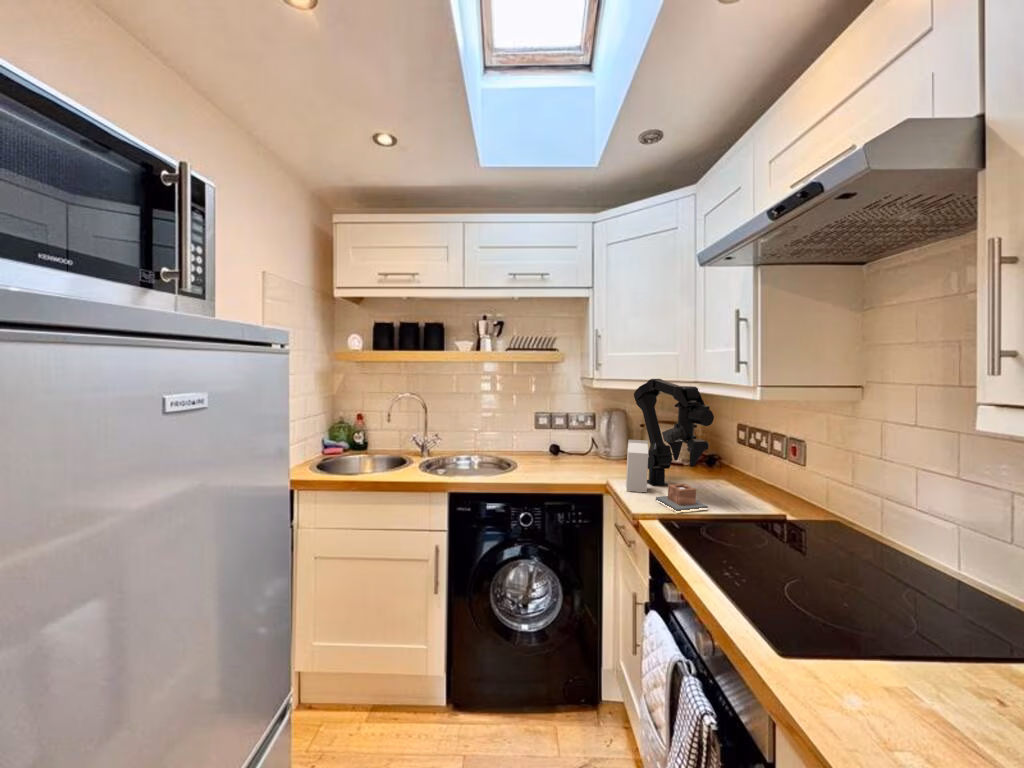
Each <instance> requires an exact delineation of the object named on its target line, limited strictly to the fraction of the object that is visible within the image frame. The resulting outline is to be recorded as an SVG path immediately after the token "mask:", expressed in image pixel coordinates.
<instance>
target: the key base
mask: <svg viewBox="0 0 1024 768" xmlns="http://www.w3.org/2000/svg"><path fill="white" fill-rule="evenodd" d="M679 489H685V488H683V487H681V488H679ZM656 500H658V501H660V502H662V503H664V504H665V505H667V506H669V507H671V508H673V509H674V510H676V511H681V510H690V509H699V508H708V509H709V506H708V505H707V504H705V503H703V502H701V501H698V500H697V499H696V503H695V504H688V505H678V504H676V503H674V502H672V501H670V500H669V499H668V495H664V496H662V495H661V496H655V501H656Z"/></svg>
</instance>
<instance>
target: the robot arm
mask: <svg viewBox="0 0 1024 768" xmlns="http://www.w3.org/2000/svg"><path fill="white" fill-rule="evenodd" d="M661 392H662V393H664V394H667V395H670V396H672V397H673V399H674V400H675V401H677V403H675V404H674V407H675V408H677V410H678V411H677V422H675V423H674V425H673V427H672V428H669V429H667V430H666V429H665V431H661V428H660V424H659V419H658V415H657V412H656V409H655V408H656V404H657V402H658V400H657V397H658V396H659V395H660V393H661ZM633 398H634V400H635V403H636V405H637V407H638V408H639V409H640V410H641V411H642V414H643V419H644V422H645V428H646V431H647V437H648V442H649V444H650V445H649V447H648V474H647V484H649V485H651V486H652V487H657V486H658V487H659V486H668V485H669V483H667V482H665V480H666V469H668V470H669V469H670V468H671V464H672V462H673V459H674V461H678V460H679V457H680V453H681V450H682V447H683V443H684V444H686V446H687V448H686V450H687V451H688V453H689V466H690V468H694V467H695V465H696V464H697V462H698V460H699V458H700V457H701V456H702V454H703V453H704V452H706V451H707V450H709V448H710V443H709V442H708V441H707V440H704V439H697V435H695V429H696V428H698V425H700V426H704V427H708V426H711V425H712V424H713V422H714V420H715V415H714V413H713V412H712V410H711V409H710V405H706V404H705V402H704V399H703V398H702V396H701V393H700V391H699V388H698V386H697V387H696V386H694V385H693V386H692V385H679V384H676V383H672V382H670V381H666V380H663V379H662V378H650V379H648V381H646V382H645V383H643V384H642V385H640V386H638V388H636V389H635V391H634V392H633ZM664 442H666V443H667V444H668V445H667V444H666V443H664Z"/></svg>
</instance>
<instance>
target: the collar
mask: <svg viewBox="0 0 1024 768" xmlns="http://www.w3.org/2000/svg"><path fill="white" fill-rule="evenodd" d="M681 487H683V488H685V489H679V488H681ZM667 496H668V499H669V500H670V501H672V502H674V503H676V504H678V505H688V504H695V503H696V500H697V489H696V488H694V487H692V486H690V485H688V484H686V483H675V484H668V485H667Z"/></svg>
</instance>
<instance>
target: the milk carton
mask: <svg viewBox="0 0 1024 768" xmlns="http://www.w3.org/2000/svg"><path fill="white" fill-rule="evenodd" d="M626 451H627V453H626V454H627V455H626V456H627V458H626V473H625V475H626V478H625V487H626V491H627V492H630V491H636V492H635V493H642V492H646V493H647V489H648V483H647V480H648V473H649V469H648V457H649V455H648V451H649V440H643V439H642V440H641V439H640V440H639V439H628V441H627V450H626Z"/></svg>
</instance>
